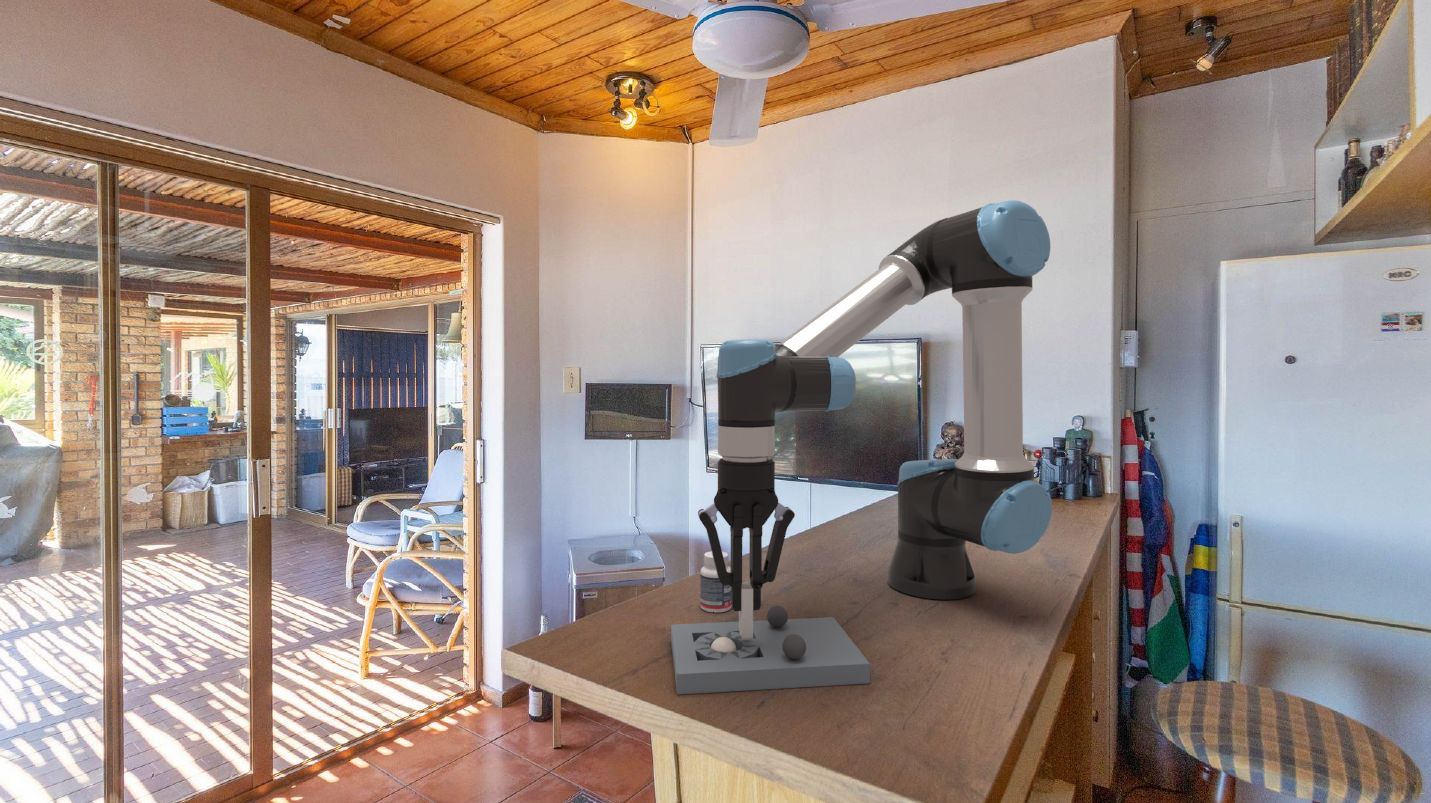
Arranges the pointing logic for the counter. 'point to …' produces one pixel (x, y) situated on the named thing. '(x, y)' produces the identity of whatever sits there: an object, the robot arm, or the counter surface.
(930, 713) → the counter surface
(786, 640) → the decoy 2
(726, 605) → the pill bottle
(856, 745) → the counter surface
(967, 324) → the robot arm
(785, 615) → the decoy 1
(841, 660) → the plate
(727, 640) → the ball
